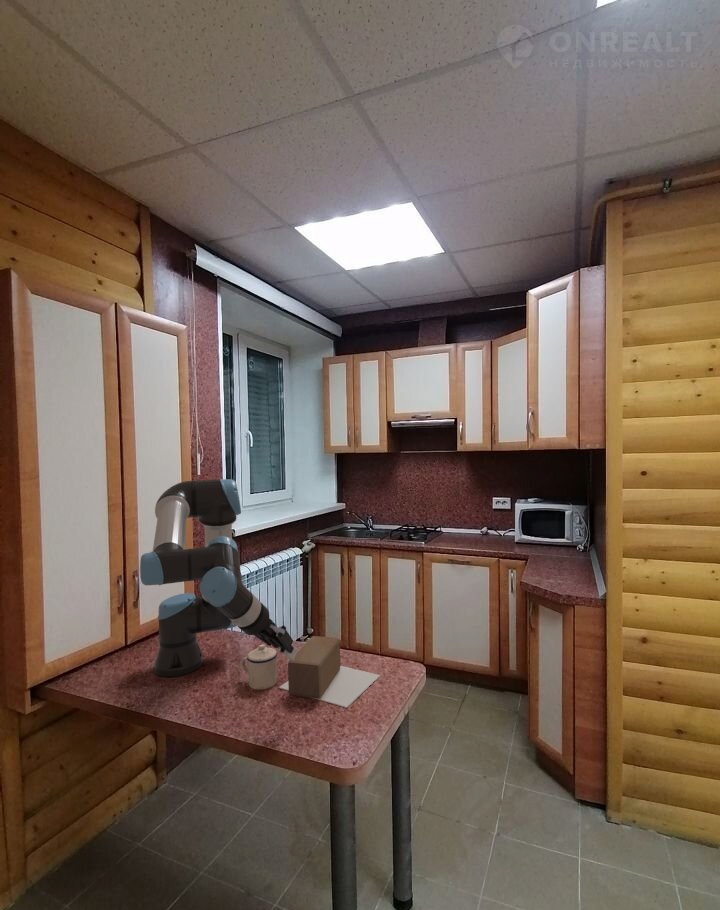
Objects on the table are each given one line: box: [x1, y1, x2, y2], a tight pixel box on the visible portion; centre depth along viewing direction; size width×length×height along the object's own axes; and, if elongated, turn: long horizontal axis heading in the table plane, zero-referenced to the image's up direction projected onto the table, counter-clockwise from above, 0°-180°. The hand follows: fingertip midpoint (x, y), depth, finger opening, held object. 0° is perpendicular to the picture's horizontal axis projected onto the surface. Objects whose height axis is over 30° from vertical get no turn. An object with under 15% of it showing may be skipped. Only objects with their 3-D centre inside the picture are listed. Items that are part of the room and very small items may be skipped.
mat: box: [278, 665, 381, 709], centre depth 140 cm, size 24×20×1 cm
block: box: [287, 635, 342, 699], centre depth 141 cm, size 10×10×20 cm
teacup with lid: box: [240, 644, 278, 691], centre depth 142 cm, size 12×9×12 cm
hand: (293, 655), depth 125 cm, fingers closed
